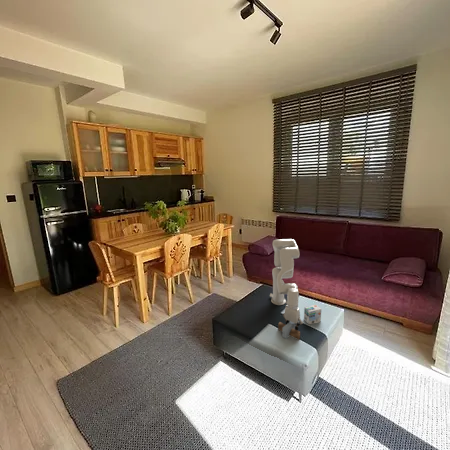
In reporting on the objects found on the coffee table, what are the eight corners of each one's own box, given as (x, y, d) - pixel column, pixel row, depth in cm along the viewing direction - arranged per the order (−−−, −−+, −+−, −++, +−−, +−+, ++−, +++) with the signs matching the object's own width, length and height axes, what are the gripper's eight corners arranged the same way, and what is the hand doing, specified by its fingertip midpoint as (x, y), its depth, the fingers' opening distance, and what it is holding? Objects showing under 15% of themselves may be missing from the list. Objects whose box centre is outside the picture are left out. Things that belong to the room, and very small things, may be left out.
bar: (282, 336, 164) (282, 327, 163) (291, 328, 173) (291, 319, 171) (286, 338, 162) (286, 329, 161) (295, 330, 170) (295, 321, 169)
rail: (278, 329, 172) (278, 323, 171) (279, 327, 174) (280, 321, 172) (298, 339, 161) (298, 333, 160) (299, 338, 162) (300, 331, 161)
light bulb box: (308, 324, 176) (309, 311, 174) (303, 319, 182) (304, 306, 180) (321, 321, 179) (321, 309, 176) (315, 316, 185) (316, 304, 183)
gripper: (278, 303, 169) (278, 325, 173) (301, 312, 157) (300, 336, 161) (284, 299, 174) (284, 320, 178) (306, 307, 162) (305, 331, 166)
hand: (291, 327), depth 169 cm, fingers open, 6 cm apart
